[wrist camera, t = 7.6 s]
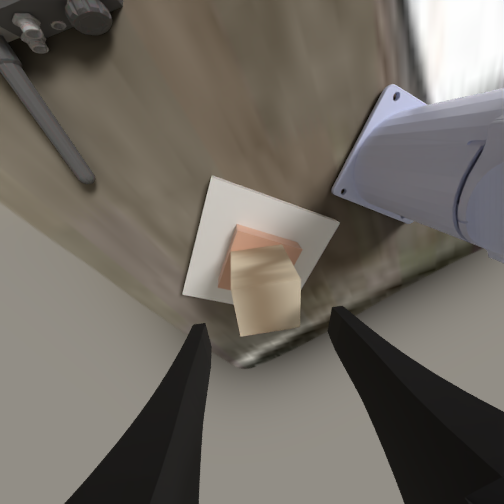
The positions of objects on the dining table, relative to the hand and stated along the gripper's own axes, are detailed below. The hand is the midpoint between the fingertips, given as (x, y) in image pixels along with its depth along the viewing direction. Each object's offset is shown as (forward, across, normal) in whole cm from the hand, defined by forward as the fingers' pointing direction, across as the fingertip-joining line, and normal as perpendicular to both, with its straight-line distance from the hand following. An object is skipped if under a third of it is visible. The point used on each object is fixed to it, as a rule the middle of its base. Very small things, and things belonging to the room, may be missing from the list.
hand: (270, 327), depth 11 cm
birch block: (+7, 0, +1) cm, 7 cm away
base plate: (+9, 0, +1) cm, 9 cm away
